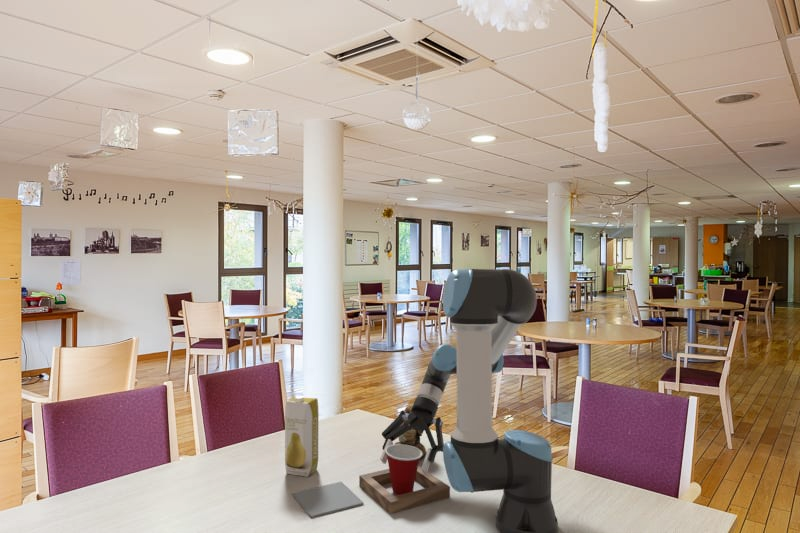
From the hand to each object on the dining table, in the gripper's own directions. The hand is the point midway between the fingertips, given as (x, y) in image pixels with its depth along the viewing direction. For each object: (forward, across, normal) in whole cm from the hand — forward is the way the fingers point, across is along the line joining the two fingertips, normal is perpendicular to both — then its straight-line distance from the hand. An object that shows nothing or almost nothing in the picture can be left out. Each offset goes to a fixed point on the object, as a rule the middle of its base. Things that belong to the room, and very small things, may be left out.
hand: (402, 466), depth 152 cm
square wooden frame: (+5, 0, -5) cm, 7 cm away
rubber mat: (+16, +15, +6) cm, 23 cm away
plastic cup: (+5, 0, -5) cm, 7 cm away
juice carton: (+9, +33, -2) cm, 35 cm away
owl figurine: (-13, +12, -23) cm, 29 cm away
